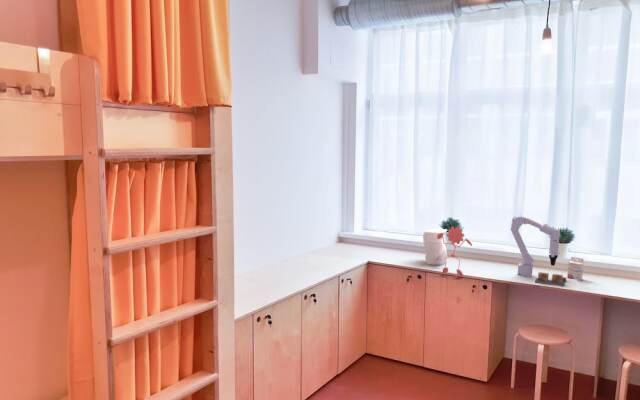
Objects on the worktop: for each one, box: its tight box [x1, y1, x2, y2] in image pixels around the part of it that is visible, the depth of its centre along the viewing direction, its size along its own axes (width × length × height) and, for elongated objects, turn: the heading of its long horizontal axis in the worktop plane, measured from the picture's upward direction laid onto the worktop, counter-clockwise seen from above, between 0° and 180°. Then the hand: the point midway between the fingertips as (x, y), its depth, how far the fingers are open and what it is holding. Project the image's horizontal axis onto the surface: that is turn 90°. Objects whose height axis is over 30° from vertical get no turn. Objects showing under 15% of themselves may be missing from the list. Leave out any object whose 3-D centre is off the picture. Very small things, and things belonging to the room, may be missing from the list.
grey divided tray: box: [534, 277, 566, 287], centre depth 325 cm, size 18×9×2 cm, turn 61°
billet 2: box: [551, 273, 564, 284], centre depth 322 cm, size 6×4×6 cm, turn 60°
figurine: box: [437, 226, 473, 280], centre depth 344 cm, size 15×26×35 cm, turn 54°
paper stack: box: [422, 228, 448, 266], centre depth 381 cm, size 21×27×26 cm
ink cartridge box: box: [566, 256, 584, 281], centre depth 340 cm, size 9×5×15 cm, turn 44°
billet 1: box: [537, 271, 550, 282], centre depth 327 cm, size 6×4×6 cm, turn 61°
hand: (552, 265), depth 339 cm, fingers closed
